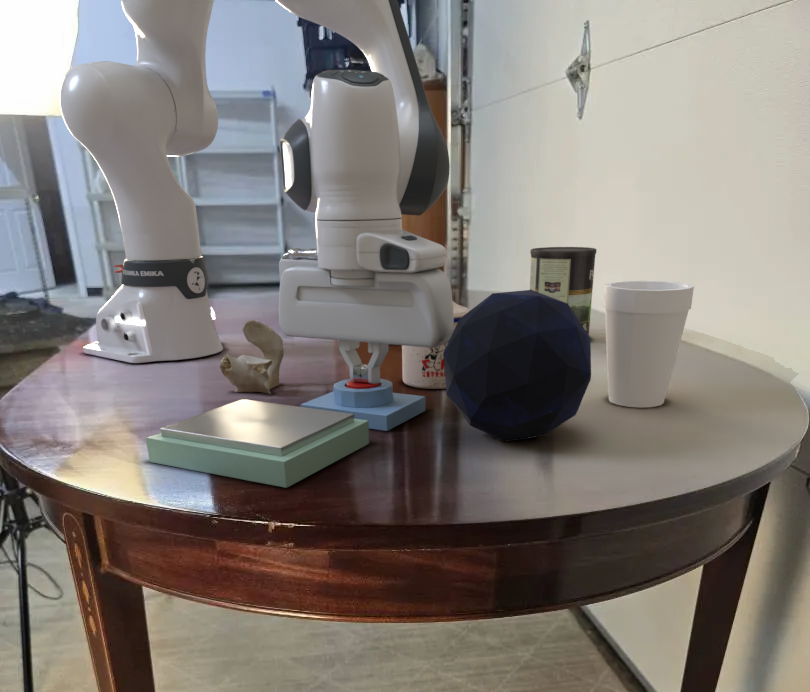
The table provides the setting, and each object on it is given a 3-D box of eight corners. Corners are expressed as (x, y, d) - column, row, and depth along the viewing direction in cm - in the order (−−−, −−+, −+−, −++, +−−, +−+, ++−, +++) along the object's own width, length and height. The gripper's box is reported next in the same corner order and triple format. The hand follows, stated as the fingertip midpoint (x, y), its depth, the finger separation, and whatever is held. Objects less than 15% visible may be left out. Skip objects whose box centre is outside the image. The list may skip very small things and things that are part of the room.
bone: (236, 390, 92) (218, 311, 93) (222, 408, 98) (205, 333, 98) (302, 385, 96) (284, 309, 97) (285, 403, 102) (268, 331, 103)
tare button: (341, 400, 86) (340, 384, 85) (358, 392, 89) (357, 377, 88) (369, 403, 84) (368, 387, 83) (385, 396, 87) (385, 380, 86)
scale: (149, 462, 73) (144, 429, 72) (243, 424, 84) (240, 395, 83) (286, 488, 66) (283, 452, 65) (369, 443, 77) (368, 412, 76)
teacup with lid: (423, 393, 96) (422, 296, 91) (388, 379, 103) (386, 288, 98) (502, 381, 101) (505, 288, 96) (463, 369, 108) (465, 282, 103)
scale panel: (301, 419, 86) (299, 388, 85) (344, 400, 93) (343, 371, 92) (387, 431, 81) (386, 398, 80) (425, 410, 88) (425, 380, 87)
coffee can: (582, 333, 133) (589, 245, 127) (594, 344, 123) (603, 250, 118) (522, 334, 133) (526, 246, 127) (530, 345, 124) (535, 251, 118)
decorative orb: (490, 357, 89) (456, 253, 77) (620, 370, 82) (604, 257, 70) (444, 457, 83) (399, 362, 71) (578, 479, 76) (553, 378, 64)
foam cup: (679, 394, 94) (694, 281, 88) (677, 413, 86) (693, 291, 80) (599, 389, 96) (609, 280, 91) (590, 407, 89) (600, 289, 83)
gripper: (260, 250, 82) (272, 379, 88) (433, 253, 73) (433, 397, 79) (295, 245, 87) (304, 368, 93) (460, 248, 78) (459, 384, 84)
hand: (365, 382), depth 86 cm, fingers closed, pressing on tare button
